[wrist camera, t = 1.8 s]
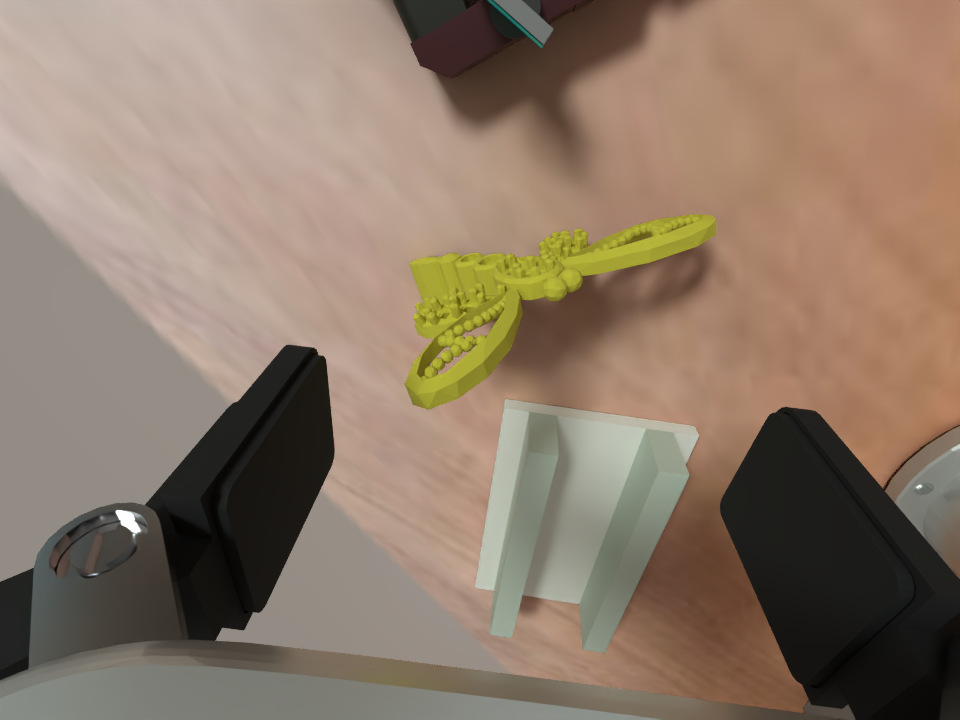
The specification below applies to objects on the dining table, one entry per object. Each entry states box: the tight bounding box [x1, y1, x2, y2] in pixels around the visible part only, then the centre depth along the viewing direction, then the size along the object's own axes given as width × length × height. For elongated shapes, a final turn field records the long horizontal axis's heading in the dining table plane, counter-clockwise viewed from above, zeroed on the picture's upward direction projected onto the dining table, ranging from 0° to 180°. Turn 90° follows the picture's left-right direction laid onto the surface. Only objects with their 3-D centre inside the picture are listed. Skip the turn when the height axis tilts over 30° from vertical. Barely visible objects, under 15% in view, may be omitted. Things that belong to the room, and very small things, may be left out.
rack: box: [475, 399, 699, 653], centre depth 27 cm, size 10×16×4 cm, turn 174°
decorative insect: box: [405, 214, 716, 409], centre depth 18 cm, size 13×3×10 cm
